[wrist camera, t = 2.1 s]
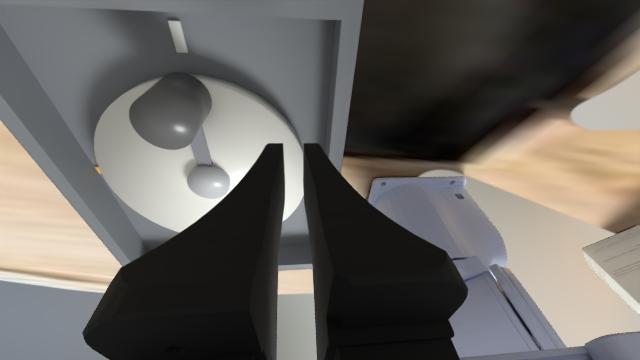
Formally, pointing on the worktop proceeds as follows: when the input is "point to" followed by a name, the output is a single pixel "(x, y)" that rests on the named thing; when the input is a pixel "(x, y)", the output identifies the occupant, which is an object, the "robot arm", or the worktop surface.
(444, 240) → the robot arm
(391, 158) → the worktop surface
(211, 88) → the dial
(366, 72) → the worktop surface
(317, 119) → the bezel plate
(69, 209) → the worktop surface
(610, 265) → the supplement box
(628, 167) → the worktop surface
